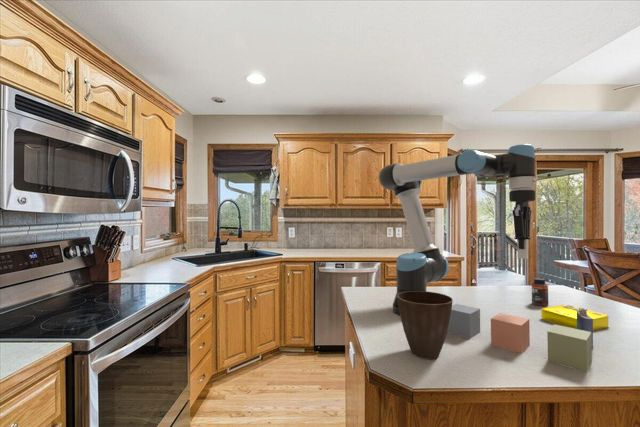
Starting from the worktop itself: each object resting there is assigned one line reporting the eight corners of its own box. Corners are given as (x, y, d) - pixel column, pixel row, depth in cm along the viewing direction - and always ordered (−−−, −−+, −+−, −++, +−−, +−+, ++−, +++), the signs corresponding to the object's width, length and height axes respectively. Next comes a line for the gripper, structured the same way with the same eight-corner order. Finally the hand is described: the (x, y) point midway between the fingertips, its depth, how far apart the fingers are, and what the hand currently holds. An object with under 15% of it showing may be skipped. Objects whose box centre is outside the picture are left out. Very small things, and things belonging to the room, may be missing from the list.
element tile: (538, 319, 116) (538, 306, 116) (564, 314, 121) (564, 302, 121) (584, 333, 102) (584, 319, 102) (611, 327, 107) (611, 314, 107)
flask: (594, 350, 88) (594, 313, 89) (581, 348, 90) (581, 311, 90) (585, 339, 96) (585, 305, 97) (573, 337, 98) (573, 303, 98)
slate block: (470, 339, 97) (470, 313, 97) (445, 332, 103) (445, 308, 103) (480, 332, 102) (480, 308, 102) (456, 326, 108) (456, 303, 108)
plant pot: (386, 351, 88) (386, 295, 88) (417, 338, 97) (417, 288, 97) (433, 371, 76) (433, 307, 76) (463, 355, 85) (463, 298, 85)
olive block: (587, 372, 76) (586, 340, 76) (547, 361, 82) (547, 331, 82) (591, 362, 81) (591, 332, 81) (554, 352, 87) (554, 324, 87)
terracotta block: (521, 353, 86) (521, 325, 86) (491, 345, 92) (490, 318, 92) (529, 345, 92) (529, 319, 92) (500, 338, 98) (499, 312, 98)
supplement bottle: (547, 303, 135) (547, 278, 135) (549, 307, 130) (548, 280, 130) (531, 301, 138) (531, 277, 138) (532, 305, 133) (531, 279, 133)
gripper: (529, 188, 98) (530, 261, 98) (540, 190, 107) (540, 257, 106) (503, 189, 104) (504, 259, 103) (515, 191, 112) (516, 255, 112)
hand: (522, 258), depth 105 cm, fingers closed
